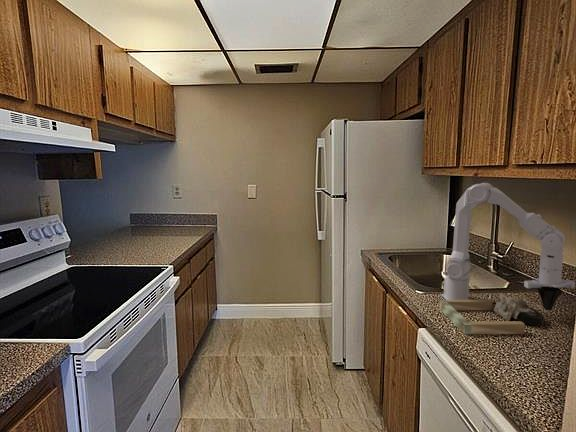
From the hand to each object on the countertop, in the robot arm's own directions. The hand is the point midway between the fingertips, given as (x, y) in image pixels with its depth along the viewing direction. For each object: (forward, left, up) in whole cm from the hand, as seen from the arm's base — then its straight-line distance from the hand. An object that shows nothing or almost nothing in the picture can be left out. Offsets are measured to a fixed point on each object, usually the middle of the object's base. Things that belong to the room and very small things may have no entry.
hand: (547, 309), depth 116 cm
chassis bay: (0, -22, -3) cm, 22 cm away
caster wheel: (0, -8, -4) cm, 9 cm away
